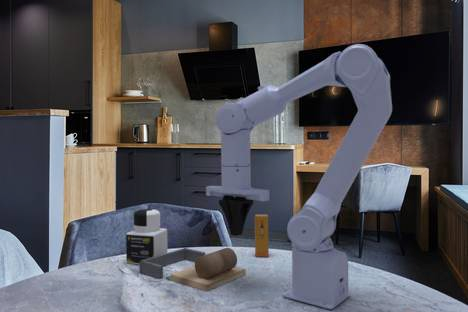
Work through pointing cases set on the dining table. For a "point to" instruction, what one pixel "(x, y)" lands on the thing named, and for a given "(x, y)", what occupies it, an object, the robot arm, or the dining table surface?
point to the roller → (215, 263)
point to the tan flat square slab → (195, 281)
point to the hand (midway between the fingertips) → (236, 234)
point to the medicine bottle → (146, 237)
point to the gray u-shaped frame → (167, 261)
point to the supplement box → (261, 236)
